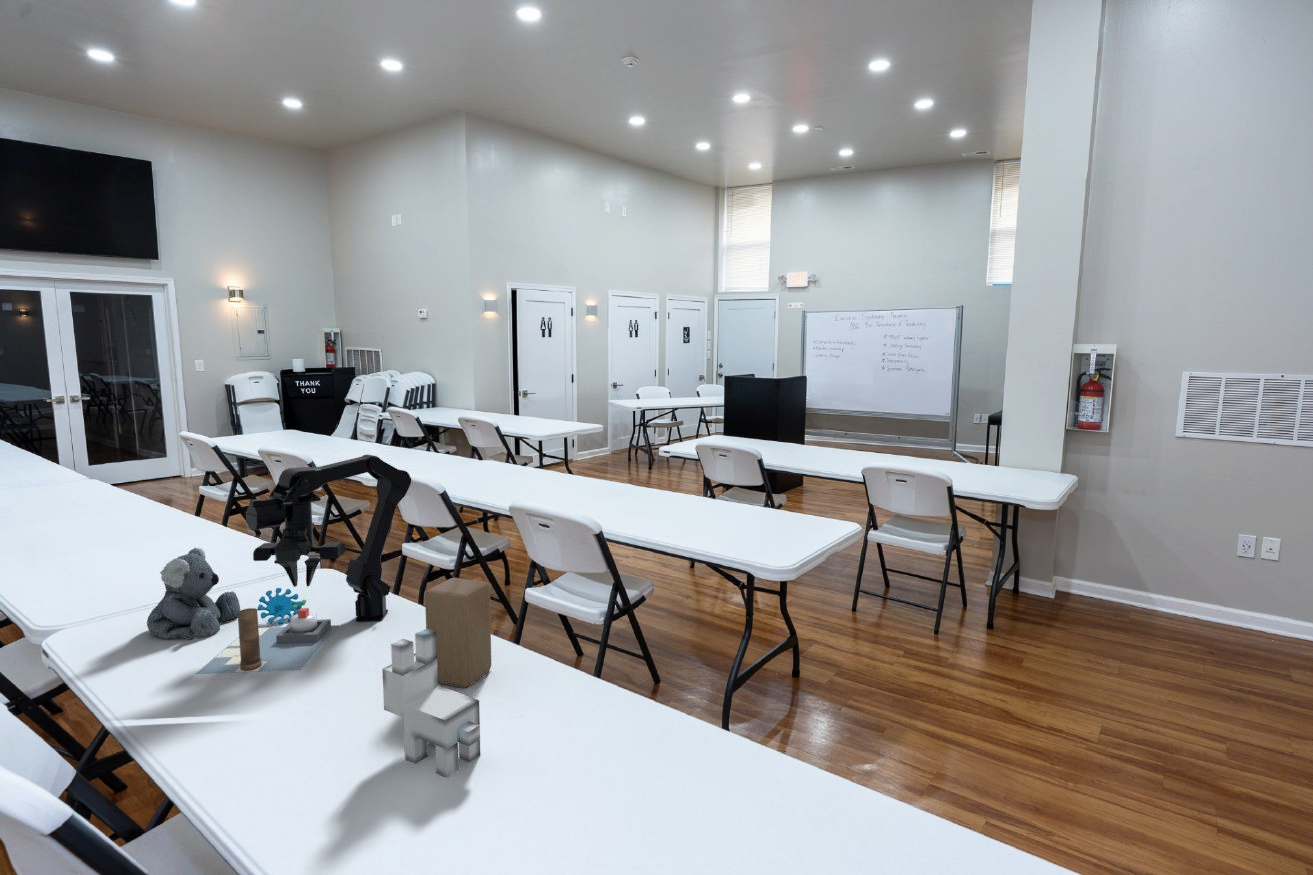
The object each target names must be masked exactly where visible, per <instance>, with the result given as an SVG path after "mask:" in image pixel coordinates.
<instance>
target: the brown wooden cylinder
mask: <svg viewBox="0 0 1313 875" xmlns="http://www.w3.org/2000/svg"><path fill="white" fill-rule="evenodd" d="M257 609H258V608H253V607H248V608H244V609H240V611H239V612H238V617H237V623H238V624H237V625H238V637H239V641H240V656H241V662H240V669H241V670H242V671H250V670H254V669H257V668H259V667H261V665H262V660H261V658H260V646H259V630H258V628H259V619H258V616H259V614H258V610H257Z"/></svg>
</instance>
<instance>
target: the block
mask: <svg viewBox="0 0 1313 875" xmlns="http://www.w3.org/2000/svg"><path fill="white" fill-rule="evenodd" d="M490 585H491V584H490V583H489V582H487V581H482V580H473V579H467V578H459V577H451V578H449V579H447V580H445V581H442V582H441V583H439V584H437V585H435V586H433V587H431V588H429V589H427V590H426V591H425V594H424V600H425V604H424V605H425V607H424V608H425V629H429V630H432V631H436V639H437V673H438V684H443V685H447V686H453V687H458V688H461V689H462V688H463V689H464V688H468V687H469V686H471V685H473V683H475V682H476V681H477V680H478V679H480V678H481V677H483V675H485V674H486V673H488V672H490V670H491V667H492V631H491V630H492V629H491V627H492V623H491V622H492V621H491V586H490Z"/></svg>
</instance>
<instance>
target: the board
mask: <svg viewBox="0 0 1313 875" xmlns="http://www.w3.org/2000/svg"><path fill="white" fill-rule="evenodd" d="M338 628H340V625H339V624H337V625H336V624H335V625H334V624H332V620H331V619H330V618H329V619H327V618H325V619H317V627H316V628H314V629H312V630H309V631H304V632H294V631H292V630H291V621H289V623H288V624H287V625H286V626H278V627H277V626H276V627H275V626H273V627H268V626H267V627H258V630H259V646H260V658H261V660H262V665H261V667H259V668H257V669H254V670H250V671H242V670H241V669H240V662H241V656H240V641H239V636H238V637H237V638H236V639H235V640H233V641H232V642H230V644H229V645H227V646H226V647H225V648H223V650H221V651H220V652H219V653H218V654H217V655H216V656H215V657H213V658H212V659H211V660H209V661H208V662H207V663H206V664H205V665H204V666H203V667H202V668H201V669H199V670H198V671H196V672H195V675H209V674H211V675H213V674H231V673H232V674H233V673H238V674H239V673H258V672H259V673H260V672H262V673H263V672H282V671H283V672H284V671H285V672H286V671H287V672H288V671H301V670H302V668H304V667H305V665H306V664H307V663H308V662H309V661H310V659H311V658H312V657H313V656H314V655H315V654H316V653H317V651H318V650H319V649H320V648H321V647H322V646H323V644H324V643H325V642H326V641H327V640H328V638H330V636H331V635H332V634H333V633H334V632H335V631H336V629H338Z"/></svg>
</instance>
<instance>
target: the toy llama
mask: <svg viewBox="0 0 1313 875" xmlns="http://www.w3.org/2000/svg"><path fill="white" fill-rule="evenodd" d="M414 639H415V641H411V640H410V639H409V640H408V639H406V638H403V639H399V640H398V641H395V642H393V643H391V644H390V648H391V649H390V651H391V653H390V655H391V664H389V665H387V666H385V667H383V668H382V688H383V690H382V691H383V692H382V693H383V710H384V711H387V713H391V714H393V715H395V716H398V717H401V718H403V732H404V735H403V736H404V758H405V759H404V760H405V761H409V762H410V763H412V764H417V763H419V762H421V761H423V760H424V759H425V758H427V757H428V751H427V750H428V746H430V747H433V748H435V769H436V770H435V771H436V772H435V773H436V774H437V775H439V776H441V777H444V778H446V779H448V778H449V777H451V776H452V775H454V774H455V773H457V772H458V771H459V767H460V766H459V759H461V760H463V761H465V762H468V763H471V762H473V761H474V760H476V759H477V758H478V757H479V756H481V722H480V718H481V717H480V700H479V699H476V698H474V697H471V696H469V695H466V694H462V693H460V692H457V691H455V690H452V689H449V688H446V687H443V686H440V685H439V683H438V673H437V639H436V631H432V630H429V629H426V628H425V629H422V630H420V631H418V632H415V633H414ZM414 642H415V644H414ZM414 645H415V646H414ZM414 647H415V653H414ZM427 744H428V745H427Z"/></svg>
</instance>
